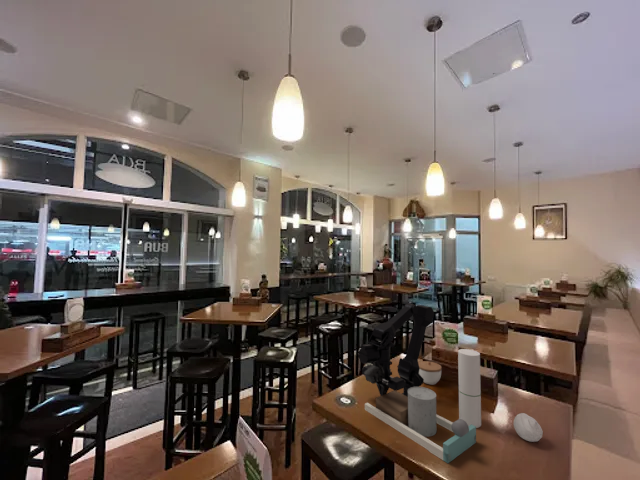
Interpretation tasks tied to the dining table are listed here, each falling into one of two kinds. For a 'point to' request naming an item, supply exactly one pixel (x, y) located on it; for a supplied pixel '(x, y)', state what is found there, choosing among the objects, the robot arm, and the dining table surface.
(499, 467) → the dining table surface
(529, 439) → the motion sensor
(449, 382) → the dining table surface
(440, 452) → the bay
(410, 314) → the robot arm
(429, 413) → the grey concrete cylinder
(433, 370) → the lidded jar
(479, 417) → the cylindrical container
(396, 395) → the carriage
